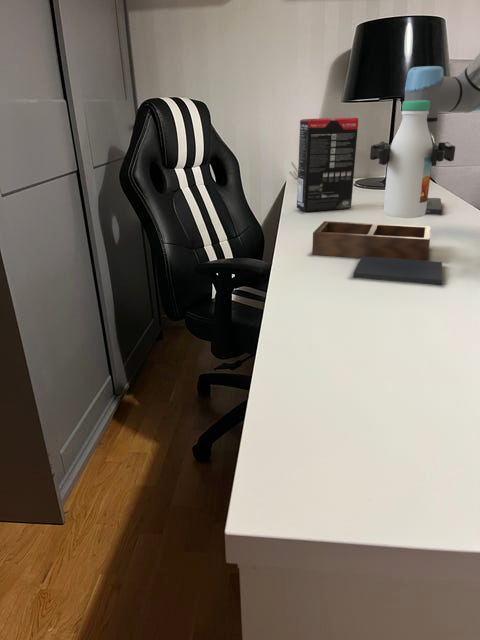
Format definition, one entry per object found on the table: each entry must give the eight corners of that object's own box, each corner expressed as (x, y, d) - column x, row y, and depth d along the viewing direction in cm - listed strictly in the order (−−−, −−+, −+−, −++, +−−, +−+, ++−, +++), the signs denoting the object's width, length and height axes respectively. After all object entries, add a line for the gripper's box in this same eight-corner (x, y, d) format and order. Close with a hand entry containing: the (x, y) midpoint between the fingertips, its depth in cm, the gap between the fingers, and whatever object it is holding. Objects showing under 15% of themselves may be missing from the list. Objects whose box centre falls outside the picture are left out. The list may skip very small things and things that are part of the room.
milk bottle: (408, 221, 90) (421, 100, 82) (374, 214, 96) (384, 101, 88) (433, 215, 94) (449, 99, 86) (400, 209, 100) (411, 100, 92)
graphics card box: (343, 205, 166) (347, 117, 156) (353, 208, 160) (359, 117, 150) (295, 209, 161) (297, 118, 151) (305, 213, 155) (307, 119, 145)
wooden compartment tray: (428, 248, 115) (430, 226, 113) (426, 263, 105) (430, 239, 103) (323, 241, 123) (324, 221, 121) (312, 254, 112) (312, 232, 111)
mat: (441, 266, 102) (441, 261, 102) (441, 285, 92) (442, 279, 91) (361, 260, 107) (362, 256, 107) (353, 277, 97) (353, 272, 97)
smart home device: (413, 207, 151) (414, 196, 168) (412, 213, 151) (414, 202, 169) (442, 208, 148) (441, 197, 165) (441, 214, 149) (440, 203, 166)
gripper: (464, 165, 104) (469, 181, 85) (364, 163, 111) (348, 177, 92) (470, 127, 101) (477, 134, 82) (367, 127, 108) (350, 134, 89)
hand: (409, 157), depth 87 cm, fingers closed on milk bottle, 8 cm apart
